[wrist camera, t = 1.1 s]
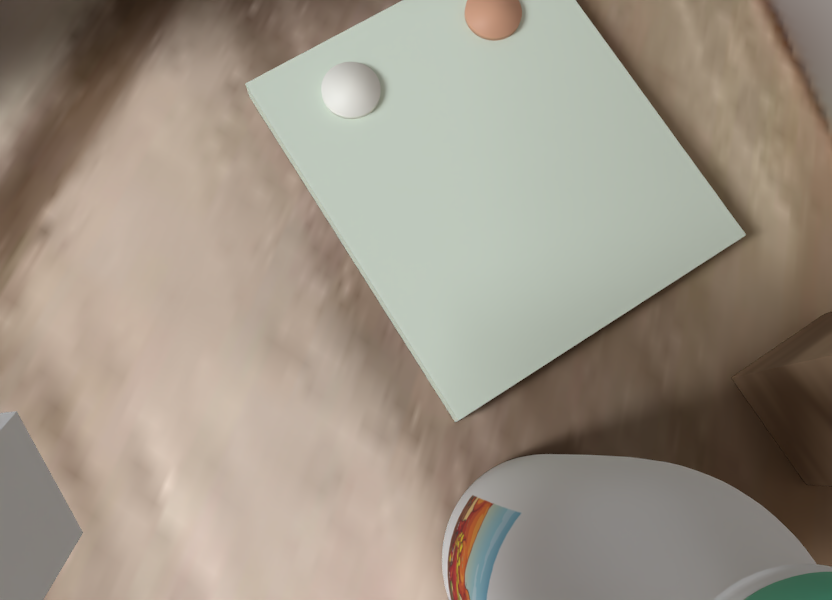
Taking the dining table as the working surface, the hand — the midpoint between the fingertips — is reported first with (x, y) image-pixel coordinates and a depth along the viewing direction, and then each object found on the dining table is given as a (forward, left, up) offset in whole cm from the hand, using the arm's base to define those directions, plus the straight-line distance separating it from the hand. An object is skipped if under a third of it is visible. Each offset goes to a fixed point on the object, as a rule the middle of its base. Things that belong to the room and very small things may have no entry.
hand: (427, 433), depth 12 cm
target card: (-8, +10, -18) cm, 21 cm away
